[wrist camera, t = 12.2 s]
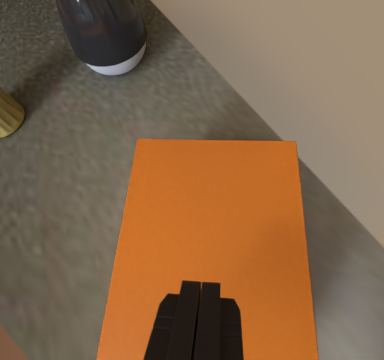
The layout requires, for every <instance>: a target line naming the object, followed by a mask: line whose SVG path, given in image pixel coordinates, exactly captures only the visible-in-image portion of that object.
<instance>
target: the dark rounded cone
mask: <svg viewBox="0 0 384 360" xmlns="http://www.w3.org/2000/svg"><path fill="white" fill-rule="evenodd" d="M56 4H57V8H58V11H59V15H60V18H61V21H62V24H63V27H64V30H65V32H66V35H67V37H68V40H69V42H70V44H71V47H72V49H73V51H74V52H75V54H76V56H77V57H78V58H79V59H80V60H81V61H83V62H84V63H86V64H87V65H88V66H89V67H90V68H92V69H93V70H95V71H96V72H99V73H101V74H105V75H120V74H123V73H126V72H128V71H130V70H131V69H133V68H134V67H135V66H136V65H137V64H138V63H139V62H140V60H141V59H142V57H143V54H144V51H145V45H146V38H147V30H146V26H145V22H144V20H143V17H142V14H141V12H140V10H139V7H138V5H137V3H136V1H135V0H56Z"/></svg>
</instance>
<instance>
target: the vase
mask: <svg viewBox="0 0 384 360" xmlns="http://www.w3.org/2000/svg"><path fill="white" fill-rule="evenodd" d="M24 115H25V114H24V109H23V107H22V106H21V105H19V104H18V103H17V102H15V101H14V100H13V99H12V98H11V97H10V96H9V95H8V94H7V93H6V92H5V91H3V90H2V89H1V88H0V138H3V137H6V136H8V135H10V134H12V133H13V132H15V131H16V130H17V129H18V128H19V127H20V125H21V124H22V122H23V120H24Z"/></svg>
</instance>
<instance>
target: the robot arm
mask: <svg viewBox="0 0 384 360" xmlns="http://www.w3.org/2000/svg"><path fill="white" fill-rule="evenodd" d="M220 289H221V283H215V282H202V287H201V282H200V281H187V280H183V281H182V284H181V289H180V293H179V294H171V293H168V294H167V295H166V296H165V298H164V299H163V300H162V301H161V302H160V304H159V307H158V311H157V314H156V319H155V321H154V324H153V329H152V331H151V335H150V338H149V342H148V345H147V348H146V352H145V355H144V359H143V360H244V356H243V341H242V326H241V310H240V309H239V307H238V305H237V303H236V301H235V299H233V298H220Z"/></svg>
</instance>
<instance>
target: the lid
mask: <svg viewBox="0 0 384 360" xmlns="http://www.w3.org/2000/svg"><path fill="white" fill-rule="evenodd" d="M183 280H187V281H200V282H201V287H202V282H215V283H221V289H220V298H233V299H235V301H236V303H237V305H238V307H239V309H240V310H241V326H242V341H243V356H244V360H319V357H318V348H317V338H316V328H315V319H314V309H313V299H312V290H311V280H310V270H309V261H308V251H307V241H306V232H305V222H304V212H303V203H302V193H301V183H300V174H299V164H298V154H297V145H296V141H241V140H173V139H138V140H137V145H136V150H135V156H134V161H133V166H132V172H131V177H130V183H129V188H128V193H127V199H126V204H125V209H124V215H123V220H122V226H121V231H120V236H119V242H118V247H117V252H116V258H115V263H114V269H113V274H112V279H111V285H110V290H109V295H108V301H107V306H106V312H105V317H104V322H103V328H102V333H101V338H100V344H99V349H98V355H97V360H143V359H144V355H145V352H146V348H147V345H148V342H149V338H150V335H151V331H152V329H153V324H154V321H155V319H156V314H157V311H158V307H159V304H160V302H161V301H162V300H163V299H164V298H165V296H166V295H167V294H168V293H171V294H179V293H180V289H181V284H182V281H183Z"/></svg>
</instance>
